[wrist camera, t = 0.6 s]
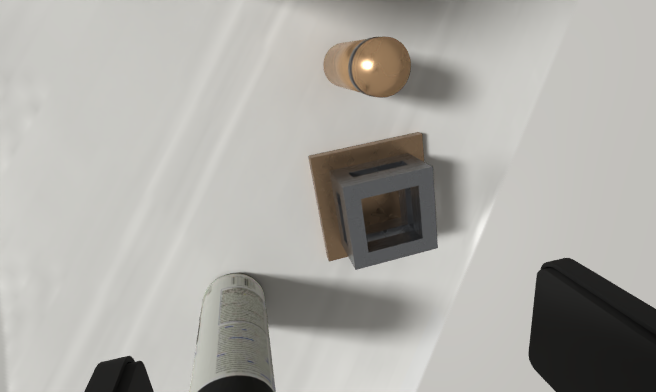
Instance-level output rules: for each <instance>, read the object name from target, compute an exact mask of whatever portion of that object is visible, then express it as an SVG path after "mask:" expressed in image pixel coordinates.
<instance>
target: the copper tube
mask: <svg viewBox="0 0 656 392" xmlns="http://www.w3.org/2000/svg"><path fill="white" fill-rule="evenodd" d="M410 69H411V62H410V57H409V54H408V51H407V49H406V48H405V47H404V45H403V44H402V43H401V42H399V41H398V40H396V39H394V38H391V37H373V38H369V39H365V40H358V41H352V42H345V43H340V44H337V45H335V46H333V47H332V48H331V49H330V50H329V51H328V52H327V54H326V56H325V59H324V72H325V75H326V77H327V78H328V80H329V81H330V82H331V83H333V84H334V85H336V86H339V87H343V88H346V89H350V90H354V91H357V92H361V93H363V94H366V95H369V96H373V97H389V96H392V95H394V94H395V93H397V92H398V91H400V90H401V89H402V88H403V86H404V85H405V84H406V82H407V80H408V78H409V75H410Z"/></svg>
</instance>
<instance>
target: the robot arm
mask: <svg viewBox="0 0 656 392" xmlns="http://www.w3.org/2000/svg"><path fill="white" fill-rule="evenodd" d="M529 360H530V362H531V364H532V366H533V368H534V369H535V370H536V371H537V372H538V373H539V374H540V376H541V377H542V378H543V379H544V380H545V381H546V382H547V383H548V384H549V385H550V386H551V387H552V388H553V389H554V390H555V391H556V392H656V309H655V308H653V307H652V306H650V305H648V304H646V303H645V302H643V301H642V300H640V299H638V298H637V297H635V296H633V295H631V294H630V293H628V292H626V291H625V290H623V289H621V288H620V287H618V286H616V285H615V284H613V283H611V282H610V281H608V280H606V279H605V278H603V277H601V276H600V275H598V274H596V273H595V272H593V271H591V270H590V269H588V268H586V267H585V266H583V265H581V264H580V263H578V262H576V261H575V260H573V259H570V258H563V259H559V260H554V261H550V262H546V263H544V264H543V265H542V267H541V270H540V271H539V272H538V273H537V278H536V288H535V297H534V307H533V317H532V326H531V335H530V345H529ZM84 392H154V391H153V388H152V386H151V383H150V380H149V377H148V374H147V371H146V369H145V366H144V364H143V362H142V361H137V362H135V361H134V359H133V358H132V357H131V356H126V357H122V358H118V359H113V360H109V361H104V362H101V363H99V364H98V365H97V367H96V368H95V370H94V372H93V375H92V377H91V379H90V381H89V383H88V385H87V387H86V389H85V391H84Z"/></svg>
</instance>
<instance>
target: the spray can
mask: <svg viewBox="0 0 656 392" xmlns="http://www.w3.org/2000/svg"><path fill="white" fill-rule="evenodd" d="M199 320H200V323H199V330H198V337H197V343H196V350H195V357H194V363H193V370H192V377H191V384H190V390H189V392H276V391H275V382H274V374H273V365H272V357H271V347H270V339H269V330H268V321H267V312H266V304H265V296H264V292H263V290H262V288H261V286H260V284H259V283H258V282H256V281H255V280H254V279H253V278H252V277H250V276H247V275H245V274H242V273H238V274H228V275H224V276H222V277H219V278H217V279H216V280H215V281H214V282H213V283H211V285H210V286H209V287H208V288H207V290H206V292H205V294H204V297H203V302H202V308H201V315H200V319H199Z"/></svg>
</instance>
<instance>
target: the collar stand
mask: <svg viewBox="0 0 656 392" xmlns="http://www.w3.org/2000/svg"><path fill="white" fill-rule="evenodd" d="M308 157H309V162H310V168H311V173H312V178H313V184H314V189H315V194H316V200H317V205H318V210H319V216H320V221H321V226H322V232H323V237H324V242H325V248H326V253H327V258H328V260H329V261H333V260H337V259H340V258H344V257H349V259H350V260H351V262H352V264H353V266H354V268H355V270H357V269H361V268H364V267H368V266H372V265H376V264H379V263H383V262H387V261H391V260H394V259H398V258H402V257H406V256H409V255H413V254H417V253H421V252H425V251H428V250H432V249H436V248H438V244H437V228H436V212H435V196H434V180H433V167H432V166H431V165H429V164H427V163H425V162H424V153H423V139H422V134H421V133H419V132H416V133H412V134H407V135H403V136H398V137H393V138H389V139H384V140H380V141H375V142H370V143H366V144H361V145H357V146H352V147H347V148H343V149H338V150H333V151H329V152H324V153H320V154H315V155H310V156H308Z"/></svg>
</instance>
